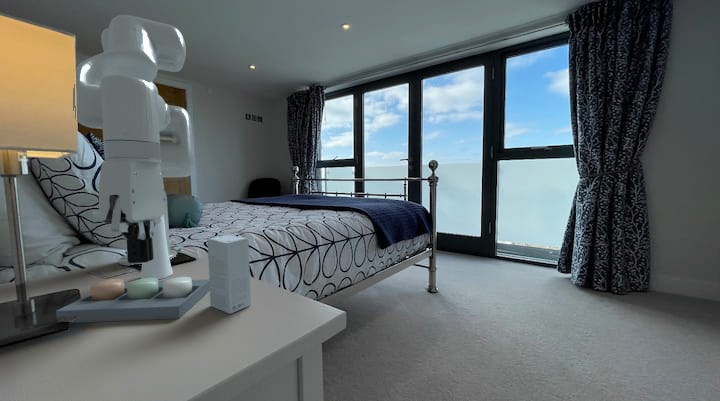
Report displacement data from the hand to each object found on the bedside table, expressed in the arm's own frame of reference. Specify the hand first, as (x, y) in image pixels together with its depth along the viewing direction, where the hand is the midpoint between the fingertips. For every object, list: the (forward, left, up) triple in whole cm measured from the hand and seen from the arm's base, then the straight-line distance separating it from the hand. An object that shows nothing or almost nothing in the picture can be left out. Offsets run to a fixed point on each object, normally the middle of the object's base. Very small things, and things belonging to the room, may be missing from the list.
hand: (141, 261), depth 50 cm
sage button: (-1, 0, -6) cm, 6 cm away
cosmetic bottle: (-16, -7, -8) cm, 19 cm away
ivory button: (-1, +5, -6) cm, 8 cm away
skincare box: (+1, +15, -8) cm, 17 cm away
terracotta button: (-1, -6, -6) cm, 9 cm away
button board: (-1, 0, -8) cm, 8 cm away
